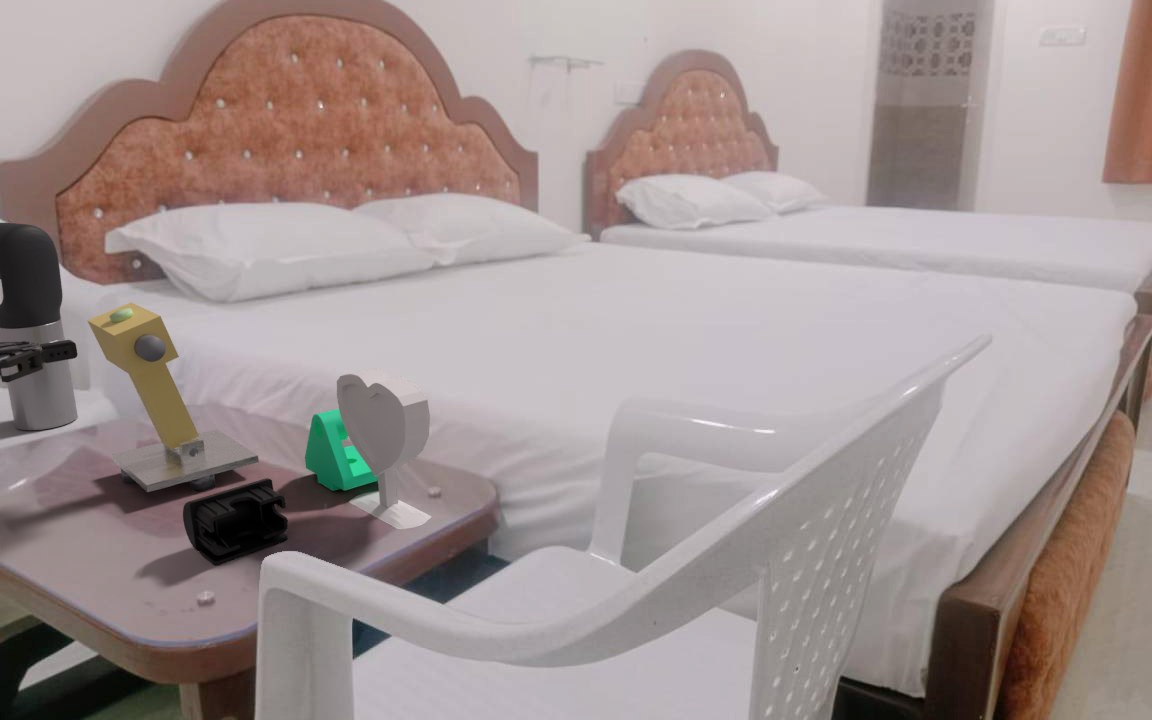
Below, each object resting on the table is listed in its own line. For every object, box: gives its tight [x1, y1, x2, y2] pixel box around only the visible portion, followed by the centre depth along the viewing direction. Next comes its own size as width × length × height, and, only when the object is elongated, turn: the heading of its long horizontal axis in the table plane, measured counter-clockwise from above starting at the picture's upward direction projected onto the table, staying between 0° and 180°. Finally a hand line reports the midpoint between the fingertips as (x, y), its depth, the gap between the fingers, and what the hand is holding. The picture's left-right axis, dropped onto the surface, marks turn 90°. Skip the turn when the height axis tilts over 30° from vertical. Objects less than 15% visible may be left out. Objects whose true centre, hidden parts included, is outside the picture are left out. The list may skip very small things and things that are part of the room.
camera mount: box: [304, 408, 378, 491], centre depth 123 cm, size 12×8×10 cm, turn 40°
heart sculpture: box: [336, 368, 433, 530], centre depth 113 cm, size 16×5×18 cm, turn 45°
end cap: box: [182, 477, 289, 566], centre depth 106 cm, size 10×7×7 cm
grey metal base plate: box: [111, 428, 259, 493], centre depth 127 cm, size 15×15×6 cm
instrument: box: [86, 302, 199, 450], centre depth 122 cm, size 16×6×20 cm, turn 42°
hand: (75, 348), depth 114 cm, fingers closed
